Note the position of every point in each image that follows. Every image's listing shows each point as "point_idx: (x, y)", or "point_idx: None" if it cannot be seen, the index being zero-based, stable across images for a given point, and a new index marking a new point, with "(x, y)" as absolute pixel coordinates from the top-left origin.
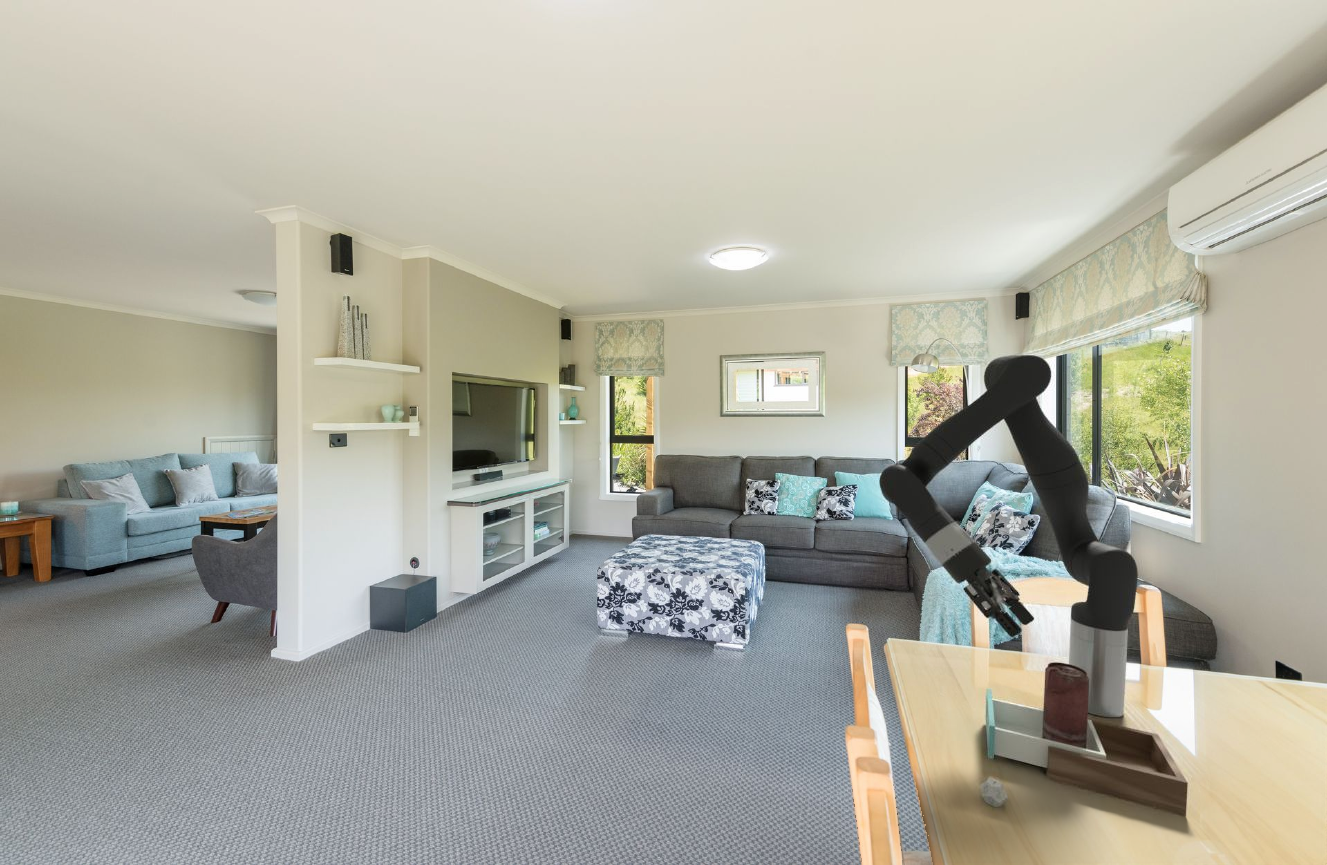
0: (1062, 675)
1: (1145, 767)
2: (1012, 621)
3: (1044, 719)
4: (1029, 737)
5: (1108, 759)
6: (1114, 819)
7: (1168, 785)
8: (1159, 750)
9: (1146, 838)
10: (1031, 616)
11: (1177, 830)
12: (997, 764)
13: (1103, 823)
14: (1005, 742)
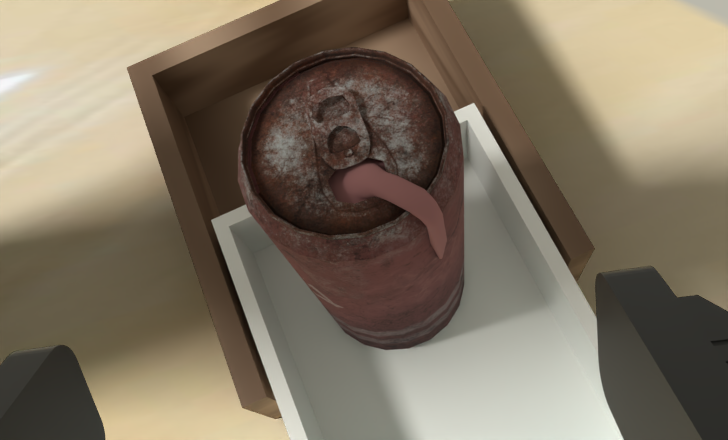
0: (450, 132)
1: None
2: (708, 339)
3: (431, 311)
4: (596, 322)
5: None
6: (614, 99)
7: None
8: (240, 42)
9: (627, 32)
10: (44, 359)
11: (512, 3)
12: None
13: (666, 109)
14: None
